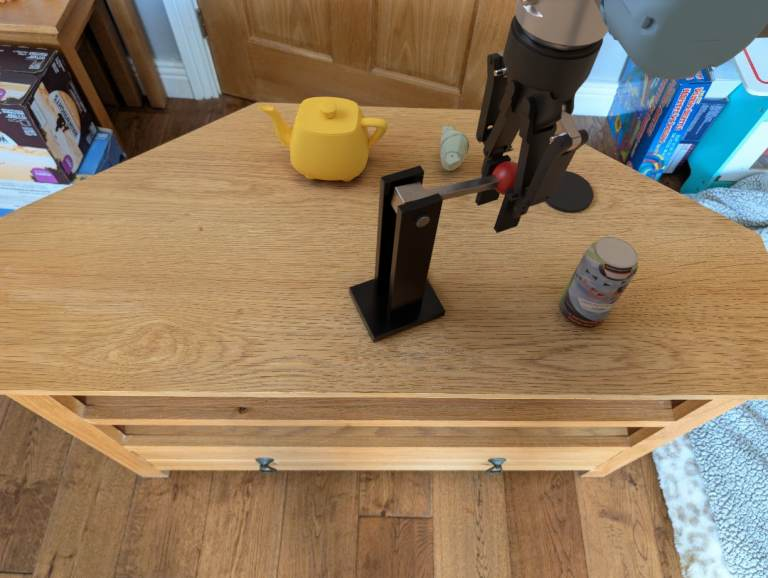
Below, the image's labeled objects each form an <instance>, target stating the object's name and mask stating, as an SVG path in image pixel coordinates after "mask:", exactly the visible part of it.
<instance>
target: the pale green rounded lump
mask: <svg viewBox="0 0 768 578" xmlns="http://www.w3.org/2000/svg"><path fill="white" fill-rule="evenodd" d="M469 141H470V140H469V139H468V137H467V135H466V134H465V133H464V132H463V131H458V130H456V129H455V127H454V126H450V125H449V126H448V125H446V126H445V125H444V126H442V129H441V139H440V142H439V143H440V144H439V145H440V146H439V148H440V149H439V150H440V151H439V152H440V153H439V156H440V162H441V165H442V167H443V169H444V170H445V171H454V170H456V169H457V168H458V167H460V166H461V164H462V163H463V162H464V160H465V159H466V157H467V155H468V153H469V149H470V142H469Z"/></svg>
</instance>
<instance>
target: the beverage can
mask: <svg viewBox="0 0 768 578" xmlns="http://www.w3.org/2000/svg"><path fill="white" fill-rule="evenodd" d="M638 260H639V254H638V252H637V250H636V249H635V247H634V246H633V245H632V244H630V243H629V241H626V240H624V239H622V238H619V237H617V236H609V235H607V236H602V237H600V238H598V239H597V241H594V242H592V243H590V244H589V245H588V246H587V248H586V249H585V251H584V253H583V254H582V257H581V259H580V261H579V262H578V264H577V266H576V267H575V270H574V271H573V274H572V275H571V277H570V279H569V281H568V283H567V284H566V287H565V288H564V290H563V292H562V294H561V296H560V298H559V300H558V308H559V311H560V312H561V314H562V316H563V317H564V318H565V319H566V320H567V321H568V322H569V323H571V324H573V325H575V326H578V327H581V328H585V329H594V328H597V327H599V326H601V325H602V324H603V323H604V322H605V320H606V318H607V317H608V315H609V314H610V313H611V311H612V310H613V308H614V307H615V305H616V303H617V302H618V301H619V299H620V298H621V296H622V295H623V293H624V291H625V290H626V289H627V287H628V286H629V284H630V282H631V281H632V279H633V278H634V276H635V275H636V273H637V272H638V266H639V265H638V264H639V263H638Z"/></svg>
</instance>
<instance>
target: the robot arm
mask: <svg viewBox="0 0 768 578" xmlns="http://www.w3.org/2000/svg"><path fill="white" fill-rule="evenodd" d="M510 21H511V22H510V25H509V29H508V33H507V36H506V41H505V44H504V49H503V50H501V51H496V52H493V53H489V54H488V55H487V58H486V69H487V70H486V82H485V87H484V92H483V97H482V102H481V108H480V111H479V117H478V123H477V127H476V132H475V139H476V140H477V142H478V143H480V144H481V143H482V144H483V149H482V153H483V156H484V159H483V162H482V165H481V169H480V174H481V177H486V176H491V175H492V173H493V171H494V169H495V168H496V167H497V166H498V165H499V164H501V163H503V162H506V161H512V158H511V157H510V156H509V154H505V153H509V152H513V151H514V148H513V145H512V144H513V143H514V141H515V139H516V137H517V135H518V136H519V137H520V138H521V144H520V149H519V153H518V160H517V163H518V165H517V171H516V176H515V182H514V187H512V188H509V189H507V190H506V193H505V195H504V196H503V199H502V202H501V205H500V208H499V211H498V214H497V217H496V221H495V223H494V226H493V230H494V232H495V233H496V234H499V233H501V232H504V231H507V230H510V229H513V228H516V227H518V226H519V223H520V220H521V218H522V217H523V216H525V215H526V214H527V213H528V211H529V209H530V208H531V207H534V206H536V205H539V204H543V203H546V202H545V201H548V200H550V199H551V198H552V196H553V194H554V192H555V190H556V188H557V186H558V184H559V182H560V181H561V179H562V177H563V175H564V173H565V171H567V169H568V167H569V166H570V163H571V162H572V159H573V158H574V156H575V153H576V152H577V151H578V150H579V149H580V148H582V146H584V145H585V144H586V143H587V142H588V141H589V132H588V131H587V130H586V129H585V128H582V129H581V128H580V129H578V128H577V127H576V124H575V123H574V122H575V121H574V120H573V117H572V115H573V113H574V110H575V97H576V94H577V92H578V91H579V90H580V88H581V87H582V86H583V85H584V84H585V82H586V81H587V80H588V78H589V76H590V75H591V72H592V70H593V67H594V65H595V62H596V61H597V58H598V56H599V53H600V51H601V48H602V46H603V44H604V38H605V37H606V35H607V34H609V35H610V36H611V37H612V38H613V40H614V41H617V42H618V43H619V45H620V46H621V47H622V49H623V50H624V51H625V53H626V54H627V56H628V57H629V59H630V60H631V62H632V64H633V65H634V66H635V67H637V69H639V70H640V71H642V72H643V73H645V74H646V75H649V76H651V77H653V78H658V79H663V80H674V81H675V80H684V79H690V78H693V77H695V76H696V75H697V74H698V73H699V72H700V71H703V70H705V69H708V68H718V67H720V66H723V65H725V63H727V62H729V61H730V60H732V59H734V58H735V57H737V56H738V55H739V54H740V53H741V52H742V51H744V50H745V49H747V47H749V46H750V45H751V44H752V43H753V42H754V41H755V40H756V39H768V0H516V4H515V8H514V16H513V17H512V19H511V20H510ZM490 126H491V127H490ZM499 198H500V193H499V192H497V191H496V190H495V188H494V189H490V190H486V191H481V192H477V193H476V197H475V200H474V202H475V204H476V206H477V207H479V206H483V205H485V204H488V203H492V202H494V201H498V200H499Z"/></svg>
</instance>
